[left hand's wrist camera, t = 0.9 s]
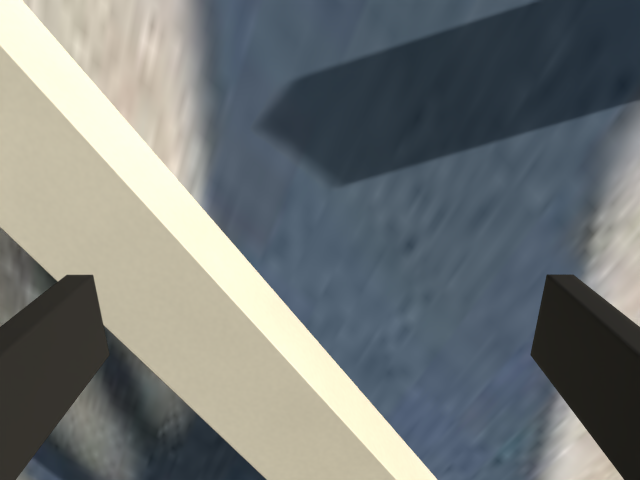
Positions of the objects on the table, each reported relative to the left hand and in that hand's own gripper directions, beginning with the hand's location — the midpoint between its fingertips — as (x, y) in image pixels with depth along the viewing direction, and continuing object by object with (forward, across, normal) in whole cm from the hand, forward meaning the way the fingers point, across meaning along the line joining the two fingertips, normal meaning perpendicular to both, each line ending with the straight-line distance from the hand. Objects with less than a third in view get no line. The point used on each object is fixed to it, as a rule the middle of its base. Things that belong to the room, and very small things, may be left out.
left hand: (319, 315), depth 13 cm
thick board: (+22, -6, -15) cm, 28 cm away
